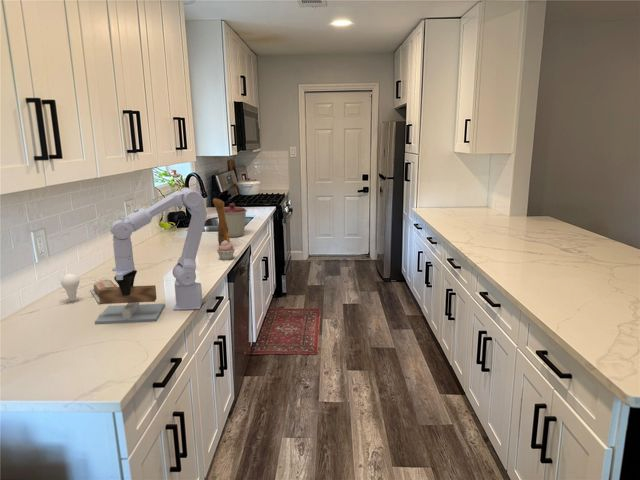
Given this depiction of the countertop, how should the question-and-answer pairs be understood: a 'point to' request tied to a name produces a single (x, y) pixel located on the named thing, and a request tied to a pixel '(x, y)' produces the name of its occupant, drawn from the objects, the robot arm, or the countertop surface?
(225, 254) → the cupcake
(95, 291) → the packaged product
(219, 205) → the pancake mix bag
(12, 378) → the countertop surface
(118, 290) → the walnut batten
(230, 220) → the canister
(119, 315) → the ridge board
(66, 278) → the lightbulb
